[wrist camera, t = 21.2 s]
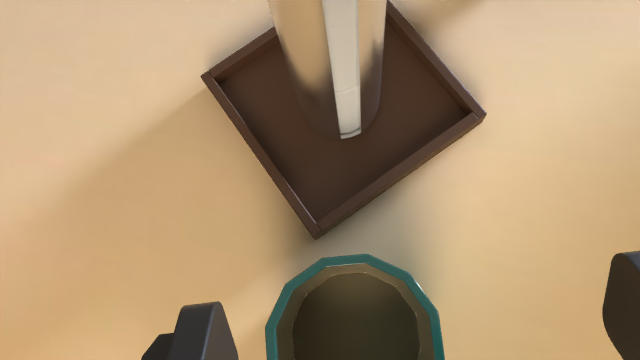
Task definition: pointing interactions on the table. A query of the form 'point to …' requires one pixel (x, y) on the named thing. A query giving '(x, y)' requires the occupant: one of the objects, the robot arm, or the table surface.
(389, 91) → the tray
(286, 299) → the cup
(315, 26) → the silver metal cylinder
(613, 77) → the table surface
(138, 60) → the table surface
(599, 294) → the table surface
